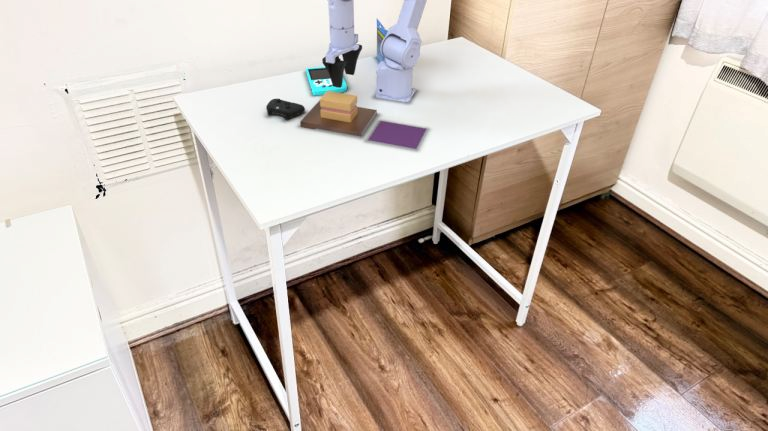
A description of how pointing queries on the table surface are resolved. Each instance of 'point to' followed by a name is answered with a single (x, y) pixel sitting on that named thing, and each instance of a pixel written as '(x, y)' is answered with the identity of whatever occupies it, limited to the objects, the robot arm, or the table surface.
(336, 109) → the sandwich
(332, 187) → the table surface
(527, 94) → the table surface
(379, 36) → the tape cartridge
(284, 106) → the gaming controller
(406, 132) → the felt cloth
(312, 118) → the cutting board
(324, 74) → the handheld game console
